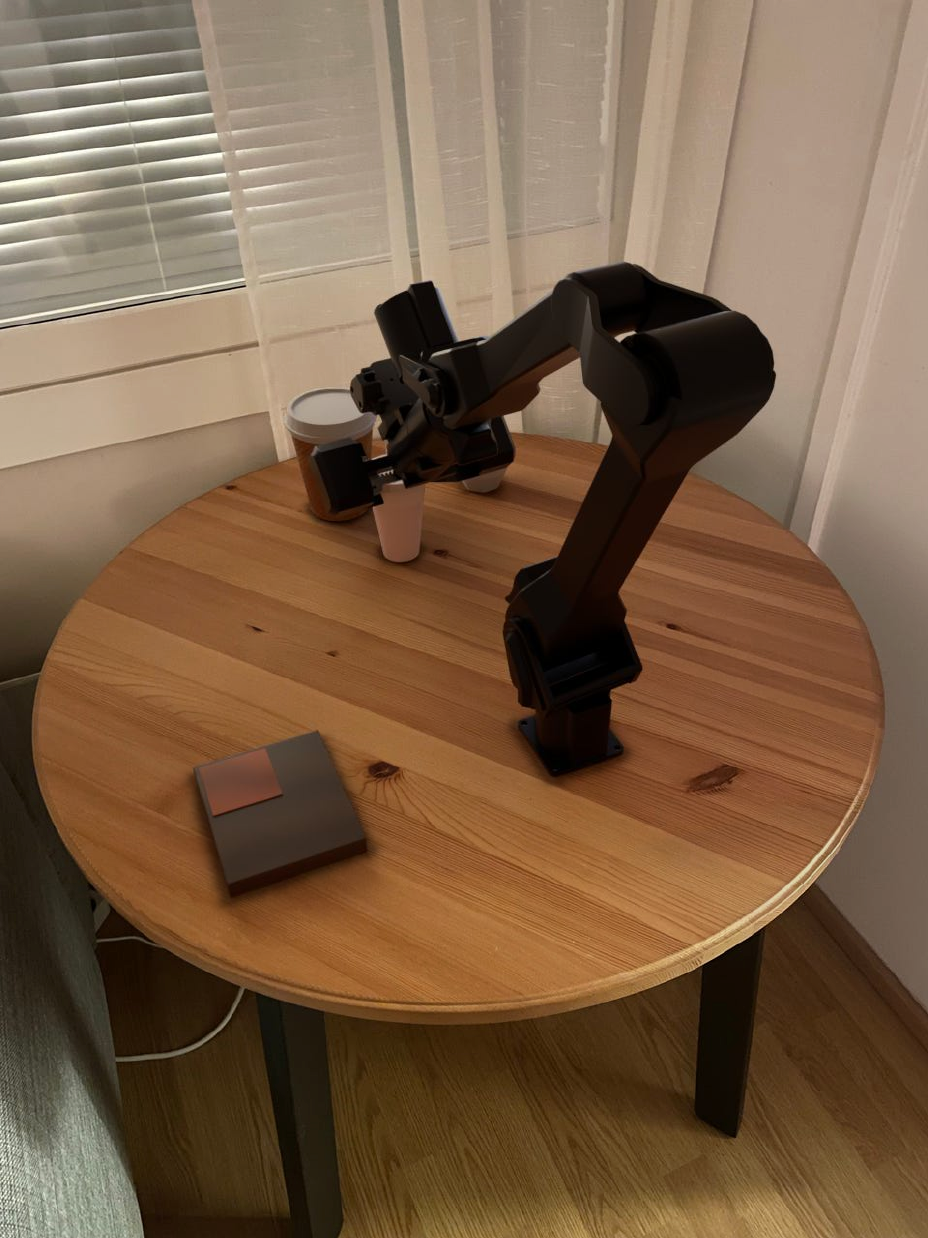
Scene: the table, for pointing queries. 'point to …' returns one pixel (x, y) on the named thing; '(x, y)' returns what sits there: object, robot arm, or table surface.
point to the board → (278, 812)
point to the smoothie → (399, 519)
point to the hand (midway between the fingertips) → (391, 485)
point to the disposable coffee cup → (326, 433)
